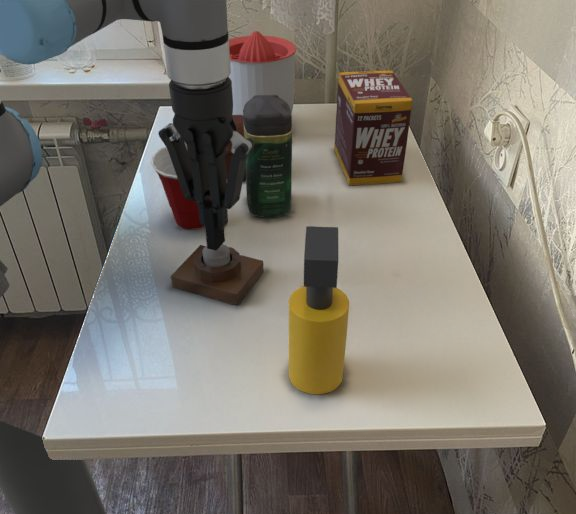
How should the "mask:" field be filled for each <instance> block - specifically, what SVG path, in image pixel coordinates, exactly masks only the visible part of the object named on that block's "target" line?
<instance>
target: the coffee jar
mask: <svg viewBox="0 0 576 514" xmlns="http://www.w3.org/2000/svg"><path fill="white" fill-rule="evenodd" d="M243 115H244V120H243V122H244V138H245V139H247V138H252V139H253V140H254V146H253V148H252V149H251V151H250V152H249V154H248V156H247V162H246V180H245V189H246V190H245V191H246V203H247V205H246V206H247V208H248V211H249V212H250V214H251V215H252V216H255V217H261V218H265V219H272V218H273V219H275V218H279V217H281V216H285V215H287V214H289V213H290V211H291V209H292V177H293V176H292V174H293V172H292V171H293V115H292V114H291V110H290V107H289V105H288V103H287V102H285V101H284V100H283V99H281V98H279V97H278V96H277V95H255V96H253V98H251V99H250V100H249V101H247V102H246V104H245V105H244V109H243Z"/></svg>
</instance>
